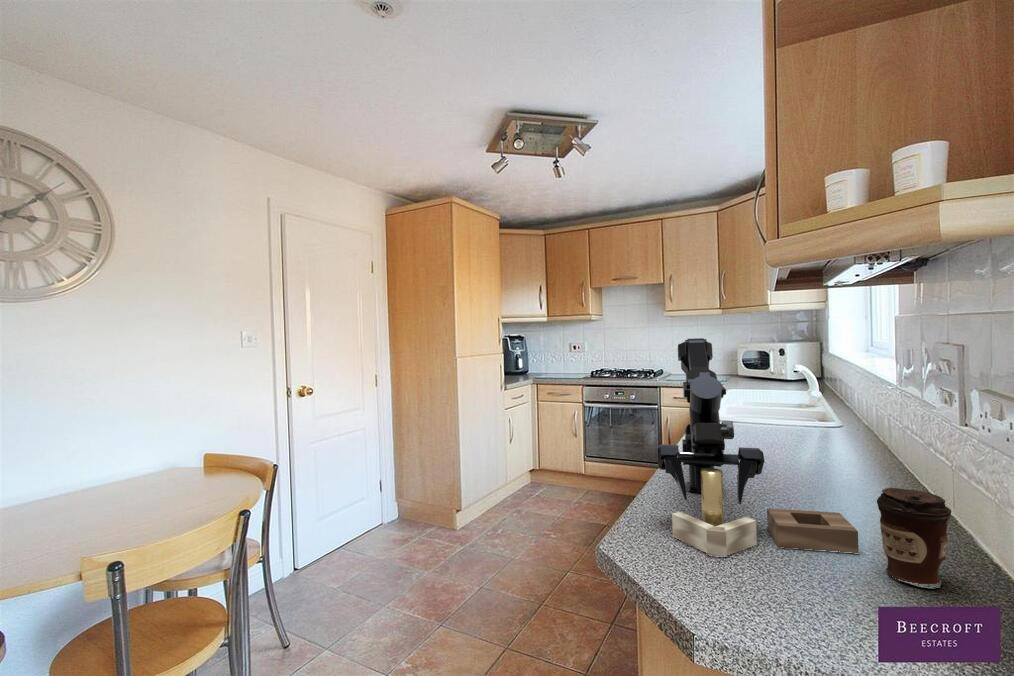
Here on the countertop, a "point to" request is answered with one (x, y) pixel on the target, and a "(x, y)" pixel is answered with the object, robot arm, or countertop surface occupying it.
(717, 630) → the countertop surface
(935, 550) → the coffee cup
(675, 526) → the v block
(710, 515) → the axle
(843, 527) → the bore block
